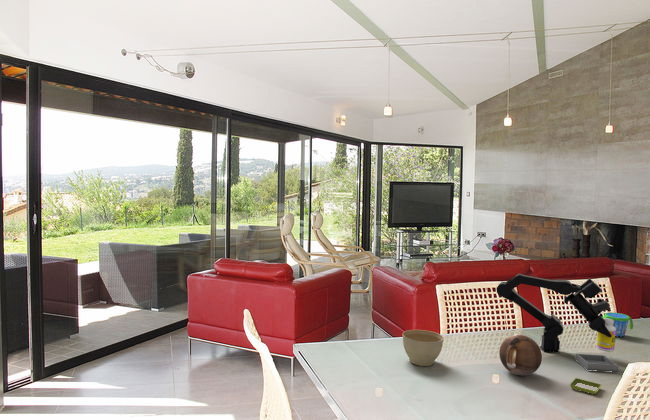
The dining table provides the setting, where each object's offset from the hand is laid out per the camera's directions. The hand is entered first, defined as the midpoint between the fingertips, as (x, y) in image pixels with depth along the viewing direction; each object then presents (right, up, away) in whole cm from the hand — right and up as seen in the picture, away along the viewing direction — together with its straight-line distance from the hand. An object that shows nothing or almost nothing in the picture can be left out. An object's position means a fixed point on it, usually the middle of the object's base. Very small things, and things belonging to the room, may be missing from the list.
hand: (610, 334), depth 203 cm
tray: (-11, -11, -8) cm, 17 cm away
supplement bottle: (-2, -7, +1) cm, 7 cm away
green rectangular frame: (-27, -12, -31) cm, 42 cm away
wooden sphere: (-46, -10, -19) cm, 50 cm away
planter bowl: (-81, -9, -9) cm, 82 cm away
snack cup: (+24, -10, +36) cm, 44 cm away
